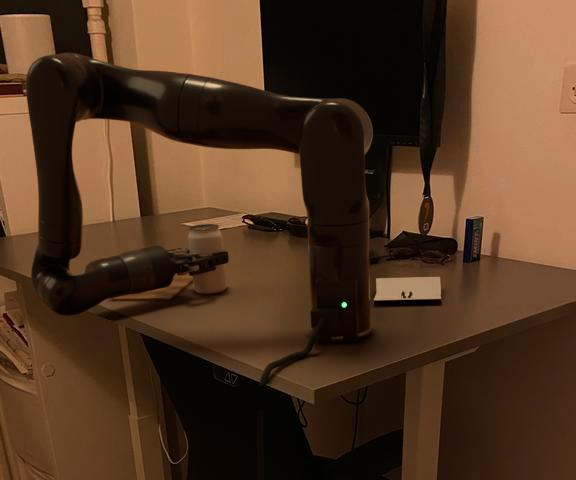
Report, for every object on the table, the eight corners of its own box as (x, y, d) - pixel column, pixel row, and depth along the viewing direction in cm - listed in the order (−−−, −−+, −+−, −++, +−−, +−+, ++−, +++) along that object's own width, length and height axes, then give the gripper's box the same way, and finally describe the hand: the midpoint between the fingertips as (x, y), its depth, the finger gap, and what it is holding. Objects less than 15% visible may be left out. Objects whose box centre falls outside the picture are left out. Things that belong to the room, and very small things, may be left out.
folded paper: (373, 306, 139) (373, 295, 138) (376, 289, 149) (375, 278, 148) (442, 305, 137) (443, 293, 136) (440, 287, 147) (441, 276, 146)
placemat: (170, 300, 151) (170, 298, 151) (111, 300, 154) (111, 298, 154) (198, 277, 167) (197, 275, 166) (144, 277, 169) (144, 275, 169)
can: (189, 289, 157) (182, 226, 152) (220, 284, 160) (213, 222, 154) (200, 296, 152) (193, 231, 146) (231, 290, 154) (225, 226, 149)
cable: (279, 269, 168) (279, 262, 167) (379, 247, 181) (379, 240, 180) (318, 279, 158) (318, 272, 157) (421, 255, 171) (421, 248, 171)
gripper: (159, 254, 138) (236, 238, 147) (120, 245, 149) (195, 230, 157) (165, 297, 142) (240, 279, 151) (126, 285, 152) (199, 268, 161)
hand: (216, 254), depth 154 cm, fingers closed on can, 6 cm apart
